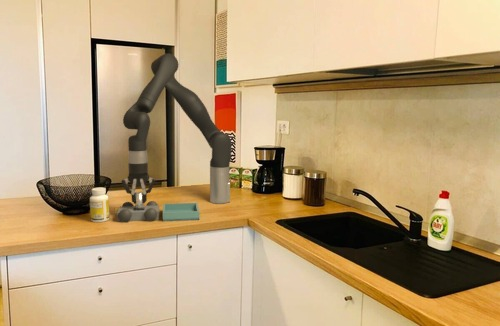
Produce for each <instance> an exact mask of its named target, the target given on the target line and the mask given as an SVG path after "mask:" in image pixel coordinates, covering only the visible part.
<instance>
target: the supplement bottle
mask: <svg viewBox="0 0 500 326" xmlns="http://www.w3.org/2000/svg"><path fill="white" fill-rule="evenodd" d="M106 191H107V189H106V187H100V186H99V187H93V188H91V196H89V208H90V209H89V210H90V212H89V213H90V221H91V222H93V223H103V222H108V221H109V220H110V202H109V201H110V200H109V196H108V195H107V194H106Z"/></svg>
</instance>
